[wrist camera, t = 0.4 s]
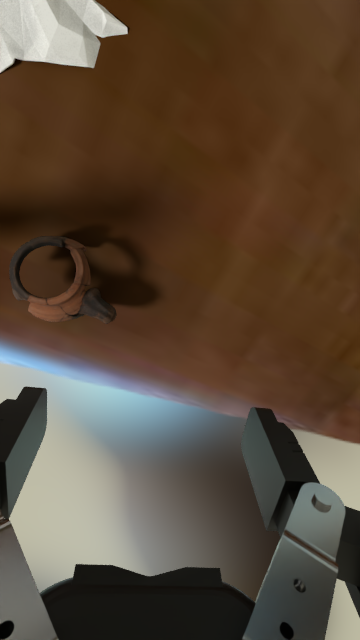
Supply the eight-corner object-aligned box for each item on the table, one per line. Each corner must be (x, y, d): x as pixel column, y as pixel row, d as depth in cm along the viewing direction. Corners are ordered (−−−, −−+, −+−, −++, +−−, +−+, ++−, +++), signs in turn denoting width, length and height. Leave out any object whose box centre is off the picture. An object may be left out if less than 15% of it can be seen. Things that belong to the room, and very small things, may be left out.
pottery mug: (16, 305, 41) (-19, 292, 33) (53, 238, 42) (29, 209, 34) (105, 348, 41) (93, 346, 33) (139, 280, 42) (136, 262, 34)
